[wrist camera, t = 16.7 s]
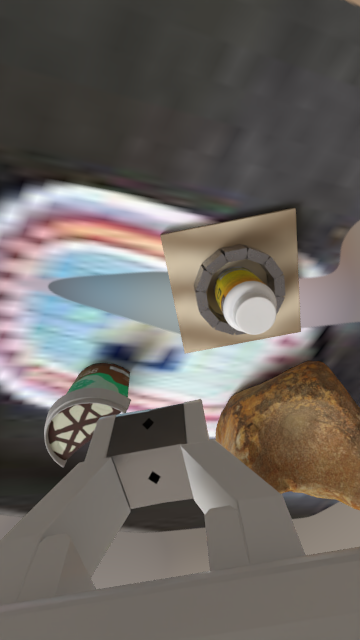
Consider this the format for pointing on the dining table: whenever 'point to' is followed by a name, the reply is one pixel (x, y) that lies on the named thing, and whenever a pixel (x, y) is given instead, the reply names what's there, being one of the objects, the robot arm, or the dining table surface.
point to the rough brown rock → (297, 433)
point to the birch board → (201, 242)
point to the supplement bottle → (245, 300)
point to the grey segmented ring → (218, 261)
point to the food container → (85, 408)
